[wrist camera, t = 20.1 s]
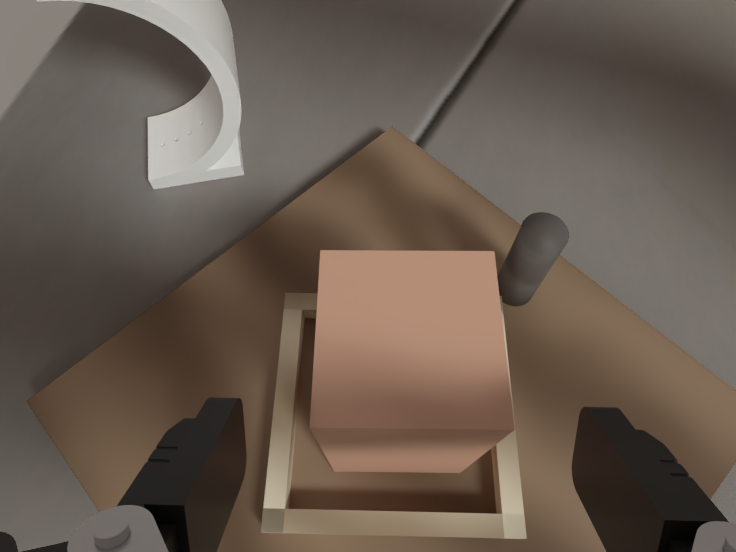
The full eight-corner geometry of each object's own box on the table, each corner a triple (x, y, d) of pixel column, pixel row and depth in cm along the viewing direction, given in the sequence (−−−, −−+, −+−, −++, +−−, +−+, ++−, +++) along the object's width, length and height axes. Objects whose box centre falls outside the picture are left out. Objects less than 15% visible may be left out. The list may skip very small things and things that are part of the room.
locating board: (391, 141, 30) (395, 50, 24) (749, 421, 23) (870, 383, 17) (42, 407, 23) (-61, 365, 18) (390, 930, 16) (399, 1137, 10)
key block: (452, 352, 23) (494, 251, 15) (460, 472, 21) (514, 429, 13) (339, 351, 23) (320, 250, 15) (334, 471, 21) (309, 427, 13)
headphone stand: (152, 127, 31) (35, -95, 20) (255, 112, 31) (193, -113, 20) (153, 190, 29) (22, -20, 18) (263, 172, 29) (199, -42, 18)
